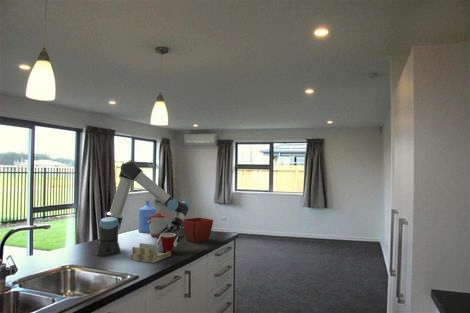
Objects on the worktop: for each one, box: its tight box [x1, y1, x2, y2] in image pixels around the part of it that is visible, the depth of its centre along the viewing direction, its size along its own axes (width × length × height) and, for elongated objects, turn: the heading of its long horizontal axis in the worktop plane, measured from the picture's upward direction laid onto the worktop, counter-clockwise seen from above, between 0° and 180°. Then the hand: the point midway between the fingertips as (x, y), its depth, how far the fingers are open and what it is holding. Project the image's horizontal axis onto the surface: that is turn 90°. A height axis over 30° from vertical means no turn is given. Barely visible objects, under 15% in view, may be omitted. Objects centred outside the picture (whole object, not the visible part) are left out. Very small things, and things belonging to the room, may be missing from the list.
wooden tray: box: [130, 246, 172, 264], centre depth 221 cm, size 17×19×8 cm
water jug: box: [137, 200, 157, 234], centre depth 317 cm, size 16×16×28 cm
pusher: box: [138, 242, 159, 257], centre depth 219 cm, size 14×1×8 cm, turn 67°
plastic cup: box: [160, 232, 177, 253], centre depth 238 cm, size 11×11×12 cm
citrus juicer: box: [147, 212, 168, 238], centre depth 296 cm, size 16×17×20 cm
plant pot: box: [181, 217, 214, 244], centre depth 276 cm, size 19×19×17 cm
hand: (165, 245), depth 236 cm, fingers open, 13 cm apart
